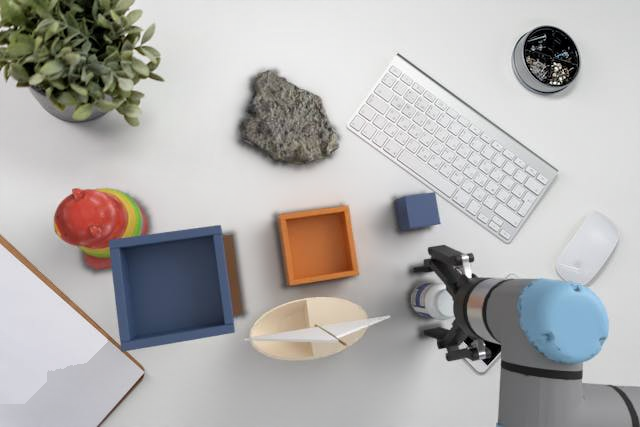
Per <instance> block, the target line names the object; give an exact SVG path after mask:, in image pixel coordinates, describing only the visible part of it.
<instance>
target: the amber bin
mask: <svg viewBox="0 0 640 427" xmlns="http://www.w3.org/2000/svg"><path fill="white" fill-rule="evenodd" d="M276 219H277V226H278V232H279V239H280V245H281V246H280V247H281V252H282V259H283V268H284V273H285V274H284V275H285V280H286V281H285V282H286V285H287V286H290V287H293V286H298V285H304V284H310V283H316V282H323V281H329V280H336V279H343V278H347V277H354V276H359V275H360V272H359V271H360V270H359V265H358V258H357V251H356V246H355V239H354V232H353V227H352V218H351V212H350V207H349V205H341V206H334V207H326V208H319V209H313V210H304V211H297V212H290V213H289V212H287V213H282V214H279V215H278V216H277V217H276Z"/></svg>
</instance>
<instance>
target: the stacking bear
mask: <svg viewBox="0 0 640 427" xmlns="http://www.w3.org/2000/svg"><path fill="white" fill-rule="evenodd" d="M71 189H72V190H71V192H72V193H71V194H69V195H66V197H65V198H63V199H62V201H61V202H60V203H59V204H58V206H57V207H56V210H55V212H54V216H53V228H54V232H55V234H56V235H57V236H58V238H59V239H61V240H62V241H63V242H65V243H67V244H69V245H72V246H75V247H77V248H78V249H79V250H81V251H82V252H83V258H84V260H85V261H86V265H87V266H88V267H90V268H93V269H95V270H97V271H98V270H99V271H100V270H106V269H109V268H112V267H111V258H110V249H109V240H111V239H119V238H126V237H134V236H141V235H148V234H147V233H148V219H147V216H146V214H145V212H144V210H143V209H142V207H141V206H140V205H139V204H138V203H137V202H136V201H135V200H134V199H133V198H132V197H131V196H129V195H128V194H126V193H125V192H123V191H120V190H118V189H114V188H110V187H109V188H108V187H103V188H95V189H92V188H85V189H82V188H79V187H75V188H71Z"/></svg>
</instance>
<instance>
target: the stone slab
mask: <svg viewBox="0 0 640 427" xmlns="http://www.w3.org/2000/svg"><path fill="white" fill-rule="evenodd" d="M253 88H254V89H255V90H254V92H253V94H252V96H251V99H250V101H249V103H248V105H247V108H246V112H247V114H249V115H253V116H254V117H247V118H245V119H244V120H243V122H241V126H240V134H241V138H242V142H244V143H247V144H248V145H250V146H253V147H255V148H258V149H261V150H263V151H264V153H266V154H267V156H268V157H269V158H270V159H272V160H273V161H279V162H282V163H283V162H284V163H291V164H296V165H301V164H303V165H309V164H311V163H314V162H316V161H319V160H326V159H327V158H329V157H330V155H332V153H333V152H335V151H336V150H338V149H339V148H340V143H339V139H338V132H337V130H335V128H333V127H332V124H331V122H330V119H329V118H330V117H329V116H328V114H327V110H326V108H325V105H324V103H323V100H322V98H321V96H319V95H317V94H314V93H313V92H310V91H309V90H306V89H305V88H300V87H299V86H297V85H295V84H294V83H292V82H289V81H288V80H287V78H285V77H283V76H281V75H280V76H279V75H277V74H276V73H274V72H271V70H270V69H268V70H267V69H266V70H265V71H264V72H263V71H262V72H260V73H259V74H258V75H257V77H256V78H255V79H254V82H253Z"/></svg>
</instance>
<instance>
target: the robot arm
mask: <svg viewBox="0 0 640 427" xmlns="http://www.w3.org/2000/svg"><path fill="white" fill-rule="evenodd" d="M427 253H428V255H429V256H430V258H424V259H423V265H420V266H414V267H412V269H413V273H432V272H433V273H434V274H435V275H436V276H437V277H438V278H439V280H441V282H442V283H443V284H445V285H446V291H447V292H448V293H449V294H450V295H451V296H452V300H453V301H454V302H453V312H454V319H453V321H452V322H451V328H450V329H447V328H444V327H440V326H438V327H432V328H427V329H423V335H424V336H427V337H430V338H433V339H436V345H437V349H438V350H443V349H446V351H447V352H446V353H445V360H446V361H447V362H449V363H450V362H455V361H458V360H463V359H468V360H470V361H471V362H475V361H480V360H485V359H490V358H492V351H491V349H490V348H488V347H487V346H486V344H485V341H487V342H489V343H493V344H496V345H500V372H499V373H500V374H499V390H498V391H499V393H498V394H499V395H498V411H497V412H498V413H497V422H496V424H495V427H640V386H637V385H635V386H634V385H614V384H604V383H603V384H601V383H591V382H590V383H588V382H583V377H584V376H583V375H584V374H583V373H584V363H585V362H587V361H590V360H592V359H593V358H595V357H596V356H597V355H598V354H600V352H601V351H602V349H603V348H602V347H603V346H604V343H605V342H606V340H607V339H608V337H609V332H610V321H609V320H610V319H609V315H608V312H607V309H606V307H605V304H604V303H603V301H602V300H601V298H600V297H599V296H598V295H597V294H596V293H595V292H594V291H593V290H592V289H590V288H589V287H587V286H585V285H583V284H581V283H578V282H574V281H570V280H560V279H552V278H543V277H542V278H540V277H539V278H508V277H507V278H506V277H479V276H478V275H476V274H475V273H473V272H472V268H471V267H472V263H474V262H475V256H474V254H473V253H472V252H468V253H463V252H461V251H459V250H456V249H454V248H453V247H450V246H448V245H446V244H439V245H433V246H427ZM467 338H470V340H473V341H472V342H470V344H469V345H466V347H464V348H460V347H459V346H461V345H462V344H463V343H464V342H465V340H466V339H467Z"/></svg>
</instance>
